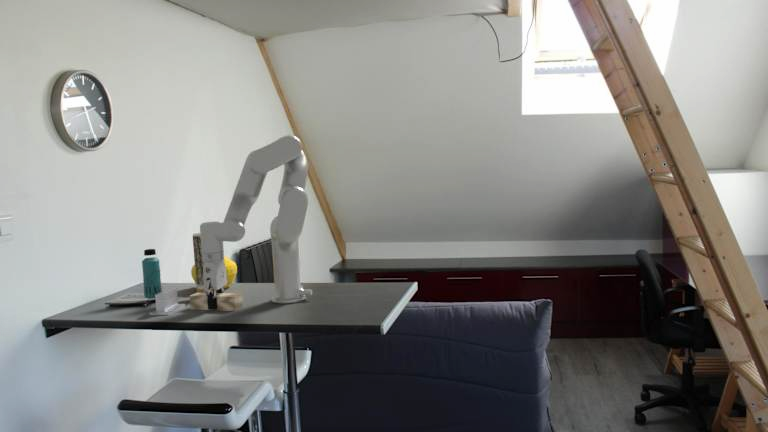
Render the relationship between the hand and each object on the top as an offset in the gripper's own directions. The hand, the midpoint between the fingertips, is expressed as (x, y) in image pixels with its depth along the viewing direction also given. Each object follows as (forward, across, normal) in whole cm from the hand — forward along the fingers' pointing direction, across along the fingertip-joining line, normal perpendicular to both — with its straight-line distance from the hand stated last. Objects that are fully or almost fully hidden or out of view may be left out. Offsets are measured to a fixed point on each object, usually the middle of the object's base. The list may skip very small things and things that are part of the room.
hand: (216, 306), depth 209 cm
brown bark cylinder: (+1, +16, +11) cm, 19 cm away
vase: (+1, +34, +15) cm, 37 cm away
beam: (+1, 0, 0) cm, 1 cm away
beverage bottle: (+1, +13, +31) cm, 33 cm away
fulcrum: (+1, -3, +17) cm, 17 cm away
